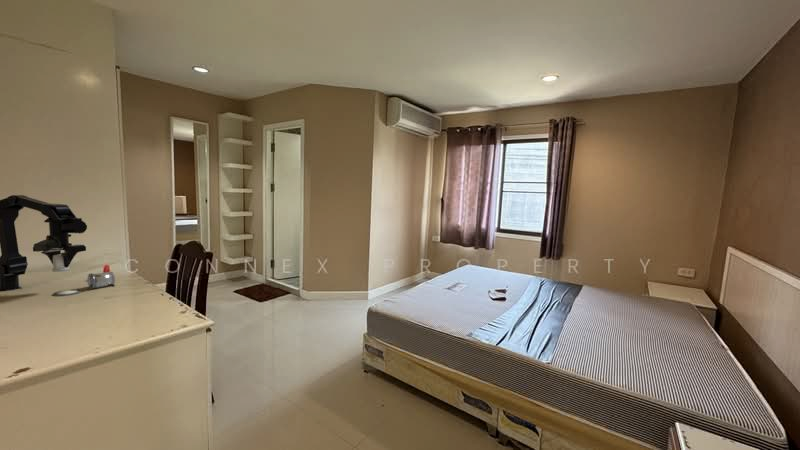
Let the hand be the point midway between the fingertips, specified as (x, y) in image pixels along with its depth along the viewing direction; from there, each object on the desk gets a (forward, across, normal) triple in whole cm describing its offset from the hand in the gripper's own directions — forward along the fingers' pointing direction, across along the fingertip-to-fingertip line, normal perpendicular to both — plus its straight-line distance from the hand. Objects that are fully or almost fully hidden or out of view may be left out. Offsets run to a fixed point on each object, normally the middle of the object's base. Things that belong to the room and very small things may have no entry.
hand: (61, 267), depth 143 cm
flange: (+12, +4, -1) cm, 12 cm away
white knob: (+2, 0, 0) cm, 2 cm away
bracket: (+12, 0, +18) cm, 21 cm away
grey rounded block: (+12, +10, +9) cm, 18 cm away
